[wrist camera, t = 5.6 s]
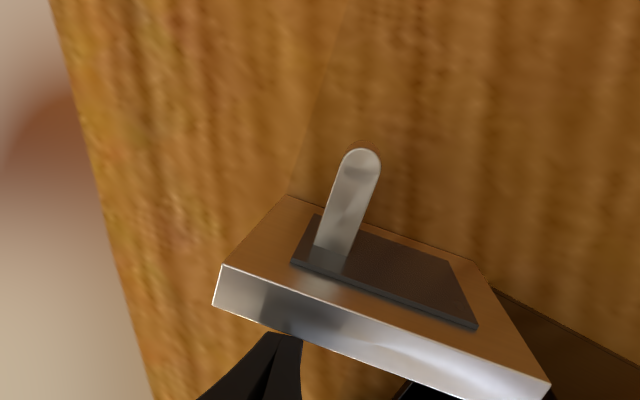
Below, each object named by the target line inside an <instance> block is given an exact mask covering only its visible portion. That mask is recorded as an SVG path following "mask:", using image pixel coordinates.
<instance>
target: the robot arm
mask: <svg viewBox="0 0 640 400" xmlns="http://www.w3.org/2000/svg"><path fill="white" fill-rule="evenodd" d="M302 348H303V340H302V339H300V338H297V337H294V336H289V335H284V334H279V333H274V332H270V331H268V332H266V333H265V334H264V335H263V336H262V338H261V339H260V340H259V341H258V342H257V343H256V344H255V346H254V347H253V348H252V349H251V350H250V351H249V352H248V353H247V354H246V355H245V356H244V357H243V358H242V359H241V360H240V361H239V362H238V363H237V364H236V365H235V366H234V367H233V368H232V369H231V370H230V371H229V372H228V373H227V374H226V375H224V376H223V377H222V378H221V379H220V380H219V381H218V382H217V383H215V384H214V385H213V386H212V387H211V388H210V389H208V390H207V391H206V392H205V393H204V394H202V395H201V396H200V397H199V398H197V399H196V400H302V395H301V382H300V363H301V356H302Z"/></svg>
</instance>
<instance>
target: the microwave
mask: <svg viewBox="0 0 640 400" xmlns="http://www.w3.org/2000/svg"><path fill="white" fill-rule="evenodd" d="M490 288H491V289H492V291H493V293H494V294H495V296H496V297H497V299H498V300H499V302H500V304H501V305H502V307H503V308H504V310H505V311H506V313H507V315H508V316H509V318H510V319H511V321H512V322H513V324H514V326H515V327H516V329H517V330H518V332H519V333H520V335H521V337H522V338H523V340H524V341H525V343H526V344H527V346H528V348H529V349H530V351H531V352H532V354H533V355H534V357H535V359H536V360H537V362H538V363H539V365H540V366H541V368H542V370H543V371H544V373H545V374H546V376H547V378H548V379H549V381H550V382H551V384H552V385H551V387H550V389H549V390H548V392H547V393H546V394H545V396H544V397H543V399H542V400H640V366H638V365H636V364H634V363H633V362H631V361H629V360H627V359H625V358H623V357H621V356H620V355H618V354H616V353H614V352H612V351H610V350H608V349H606V348H605V347H603V346H601V345H599V344H597V343H595V342H593V341H592V340H590V339H588V338H586V337H584V336H582V335H580V334H578V333H577V332H575V331H573V330H571V329H569V328H567V327H565V326H564V325H562V324H560V323H558V322H556V321H554V320H552V319H550V318H549V317H547V316H545V315H543V314H541V313H539V312H537V311H536V310H534V309H532V308H530V307H528V306H526V305H524V304H522V303H521V302H519V301H517V300H515V299H513V298H511V297H509V296H508V295H506V294H504V293H502V292H500V291H498V290H496V289H494V288H493V287H491V286H490ZM392 400H462V399H460V398H457V397H454V396H452V395H449V394H446V393H444V392H441V391H438V390H436V389H433V388H430V387H428V386H425V385H422V384H420V383H417V382H414V381H412V380H409V379H408V380H407V381H406V382H405V383H404V385H403V386H402V387H401V388H400V390H399V391H398V392H397V393H396V395H395V396H394V397H393V398H392Z"/></svg>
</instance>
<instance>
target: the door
mask: <svg viewBox="0 0 640 400" xmlns="http://www.w3.org/2000/svg"><path fill="white" fill-rule="evenodd" d="M381 167H382V166H381V158H380V153H379V151H378V149H377V147H376V146H375V145H374V144H372V143H371V142H368V141H357V142H354V143H353V144H351V145H350V146H349V147H348V148H347V150H346V152H345V154H344V156H343V158H342V160H341V163H340V166H339V169H338V172H337V175H336V178H335V180H334V183H333V186H332V189H331V192H330V195H329V198H328V201H327V204H326V207H325V208H322V207H319V206H316V205H313V204H311V203H308V202H305V201H302V200H299V199H296V198H294V197H291V196H288V195H284V196H283V197H282V198H281V199H280V201H279V202H278V203H277V204H276V205H275V206H274V207H273V208H272V209H271V210H270V211H269V213H268V214H267V215H266V216H265V217H264V218H263V219H262V220H261V221H260V222H259V224H258V225H257V226H256V227H255V228H254V229H253V230H252V231H251V232H250V233H249V234H248V236H247V237H246V238H245V239H244V240H243V241H242V242H241V243H240V244H239V245H238V246H237V248H236V249H235V250H234V251H233V252H232V253H231V254H230V255H229V256H228V257H227V258H226V260H225V261H224V262H223V263H222V265H221V269H220V272H219V276H218V280H217V284H216V288H215V292H214V296H213V300H212V306H214V307H217V308H219V309H222V310H225V311H227V312H230V313H233V314H235V315H238V316H241V317H243V318H246V319H249V320H251V321H254V322H257V323H259V324H262V325H265V326H267V327H270V328H273V329H275V330H278V331H281V332H283V333H286V334H289V335H291V336H294V337H297V338H300V339H302V340H305V341H308V342H310V343H313V344H316V345H318V346H321V347H324V348H326V349H329V350H332V351H334V352H337V353H340V354H342V355H345V356H348V357H350V358H353V359H356V360H358V361H361V362H364V363H366V364H369V365H372V366H374V367H377V368H380V369H382V370H385V371H388V372H390V373H393V374H396V375H398V376H401V377H404V378H406V379H409V380H412V381H414V382H417V383H420V384H422V385H425V386H428V387H430V388H433V389H436V390H438V391H441V392H444V393H446V394H449V395H452V396H454V397H457V398H460V399H462V400H542V399H543V397H544V396H545V394H546V393H547V392H548V390H549V389H550V387H551V385H552V384H551V382H550V381H549V379H548V378H547V376H546V374H545V373H544V371H543V370H542V368H541V366H540V365H539V363H538V362H537V360H536V359H535V357H534V355H533V354H532V352H531V351H530V349H529V348H528V346H527V344H526V343H525V341H524V340H523V338H522V337H521V335H520V333H519V332H518V330H517V329H516V327H515V326H514V324H513V322H512V321H511V319H510V318H509V316H508V315H507V313H506V311H505V310H504V308H503V307H502V305H501V304H500V302H499V300H498V299H497V297H496V296H495V294H494V293H493V291H492V289H491V288H490V286H489V285H488V283H487V282H486V280H485V278H484V277H483V275H482V274H481V272H480V271H479V269H478V267H477V266H476V264H475V263H474V261H471V260H468V259H466V258H463V257H460V256H457V255H454V254H451V253H449V252H446V251H443V250H440V249H437V248H435V247H432V246H429V245H426V244H423V243H420V242H418V241H415V240H412V239H409V238H406V237H404V236H401V235H398V234H395V233H392V232H389V231H387V230H384V229H381V228H378V227H375V226H373V225H370V224H367V223H364V222H362V220H363V217H364V215H365V212H366V209H367V207H368V204H369V202H370V199H371V197H372V194H373V191H374V189H375V186H376V184H377V181H378V179H379V176H380V173H381Z"/></svg>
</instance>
